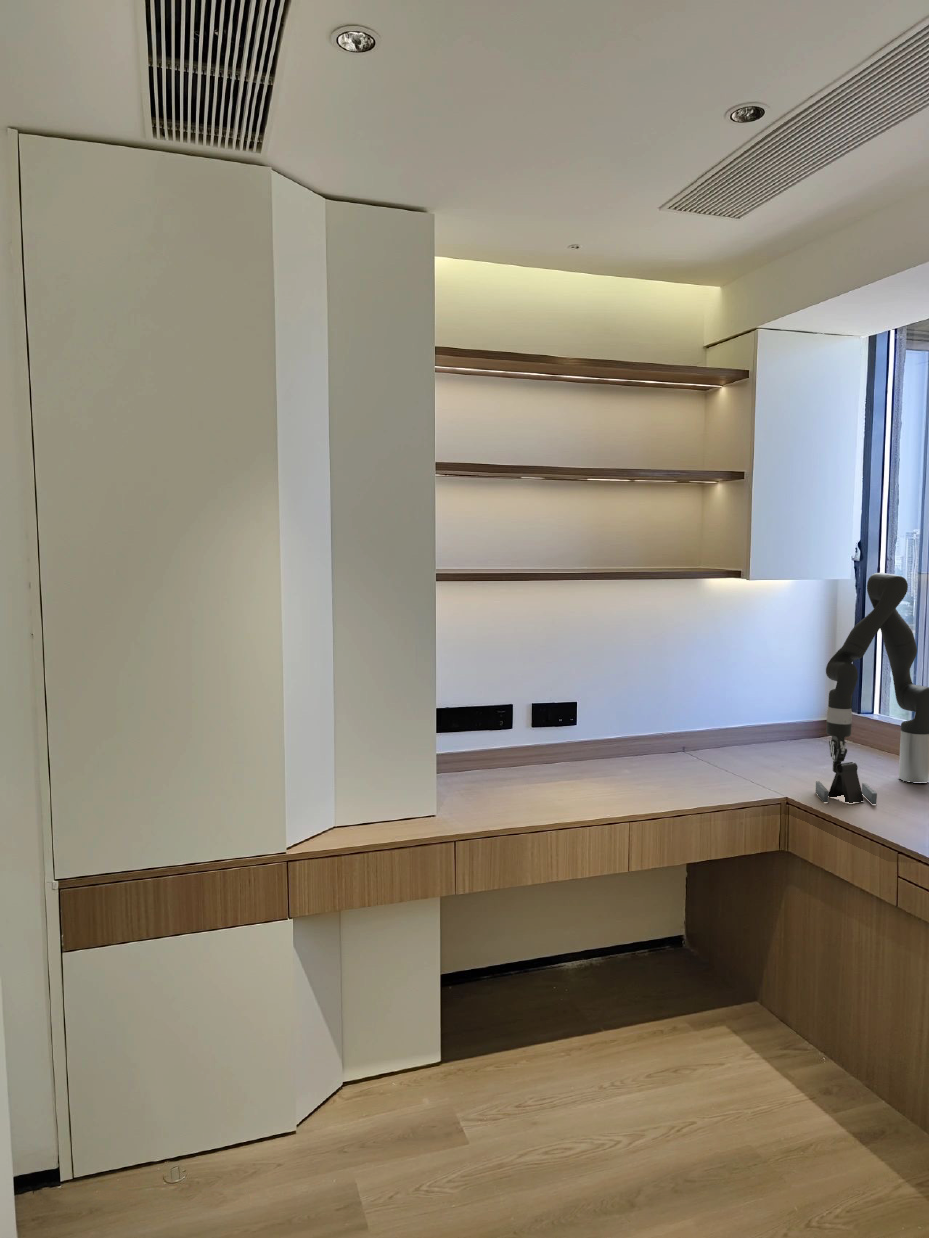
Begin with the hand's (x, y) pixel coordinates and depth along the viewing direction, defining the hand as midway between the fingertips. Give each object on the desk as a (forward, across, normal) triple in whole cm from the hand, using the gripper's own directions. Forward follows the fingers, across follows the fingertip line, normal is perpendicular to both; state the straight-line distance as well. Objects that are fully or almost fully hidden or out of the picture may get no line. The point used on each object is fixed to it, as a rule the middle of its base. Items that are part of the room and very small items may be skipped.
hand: (836, 772), depth 273 cm
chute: (+6, -10, 0) cm, 12 cm away
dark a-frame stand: (+6, -10, 0) cm, 12 cm away
